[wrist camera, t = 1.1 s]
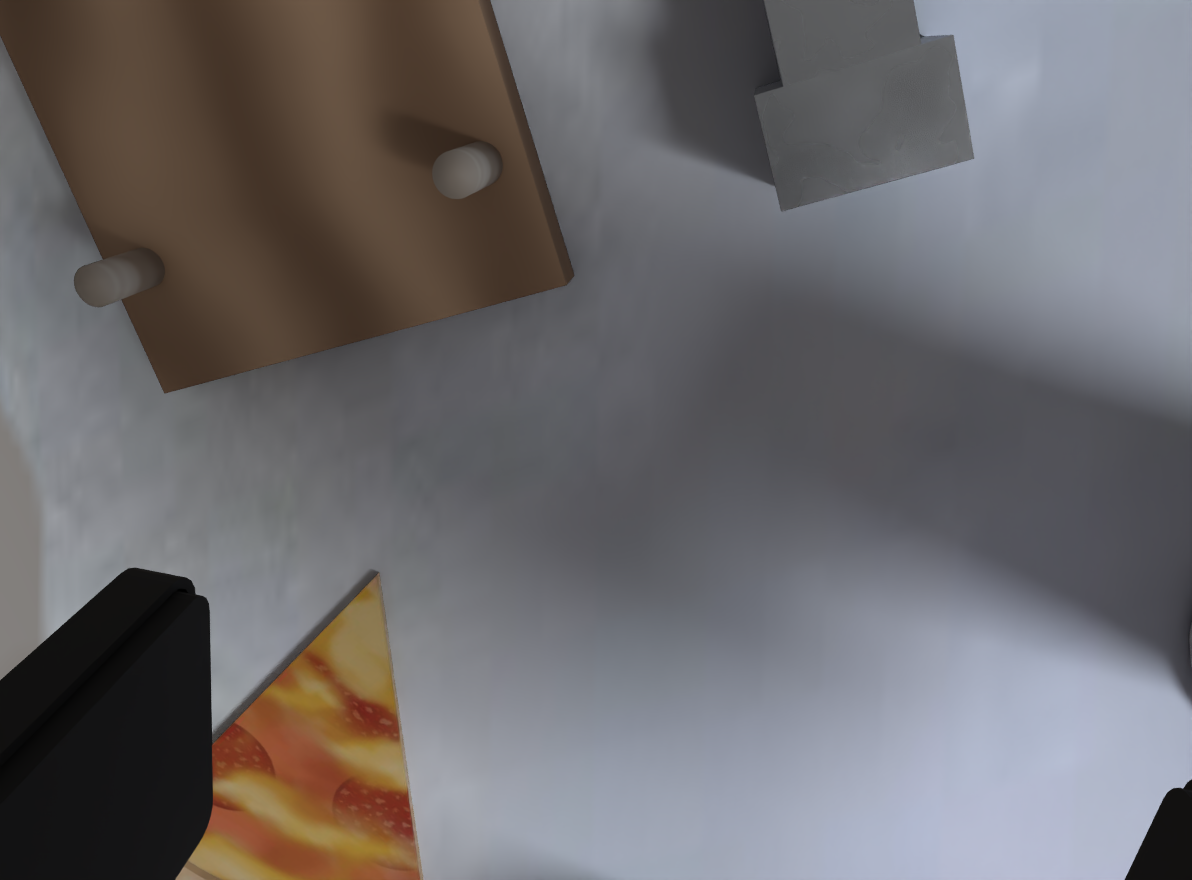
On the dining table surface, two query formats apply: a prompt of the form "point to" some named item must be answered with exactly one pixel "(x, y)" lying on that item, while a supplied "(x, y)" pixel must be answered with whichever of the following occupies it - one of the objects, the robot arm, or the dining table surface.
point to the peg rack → (288, 168)
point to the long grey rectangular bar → (857, 98)
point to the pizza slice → (317, 767)
